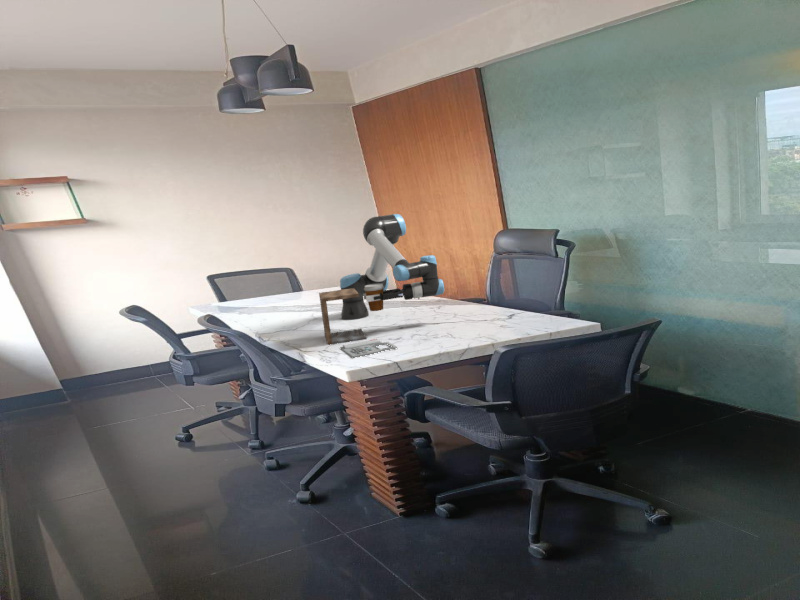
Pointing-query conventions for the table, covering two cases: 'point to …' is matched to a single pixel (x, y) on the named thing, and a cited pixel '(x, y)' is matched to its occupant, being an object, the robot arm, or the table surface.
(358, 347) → the office telephone
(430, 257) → the robot arm
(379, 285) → the disposable coffee cup
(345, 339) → the walnut overhang shelf
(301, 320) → the table surface
